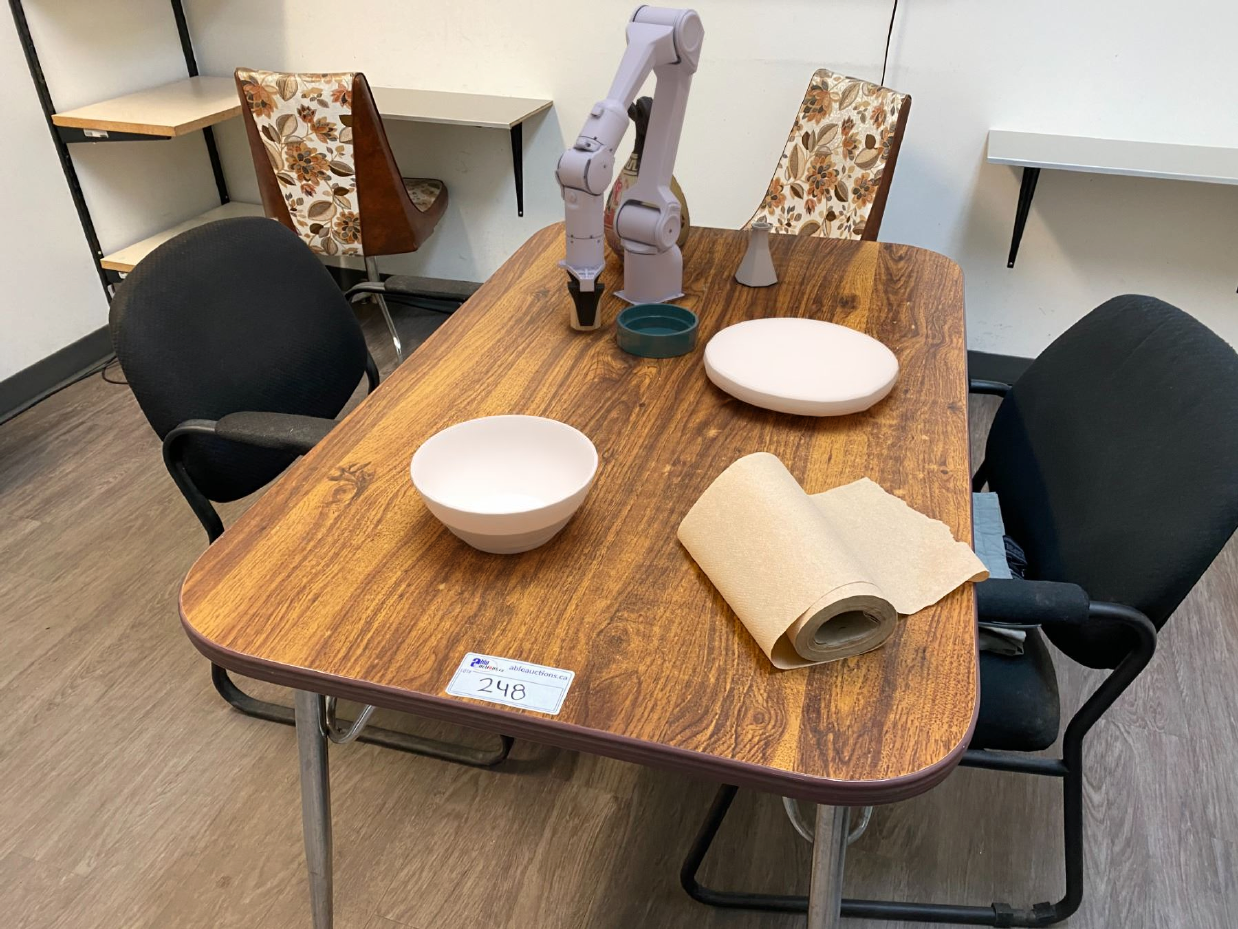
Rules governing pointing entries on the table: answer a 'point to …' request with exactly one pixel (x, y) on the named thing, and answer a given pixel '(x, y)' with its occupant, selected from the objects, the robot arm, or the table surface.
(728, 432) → the table surface
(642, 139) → the ceramic jug
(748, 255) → the flask
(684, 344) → the teal bowl
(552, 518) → the bowl
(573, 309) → the cup
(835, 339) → the plate
